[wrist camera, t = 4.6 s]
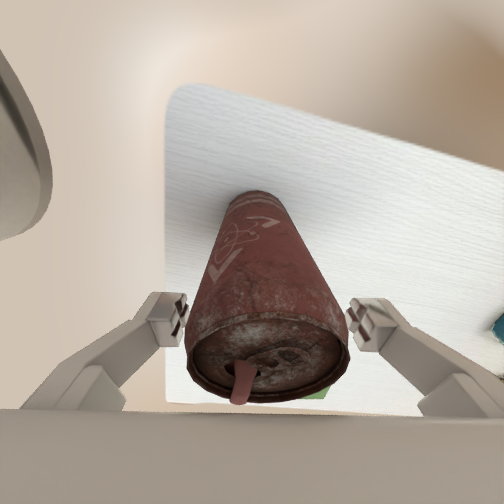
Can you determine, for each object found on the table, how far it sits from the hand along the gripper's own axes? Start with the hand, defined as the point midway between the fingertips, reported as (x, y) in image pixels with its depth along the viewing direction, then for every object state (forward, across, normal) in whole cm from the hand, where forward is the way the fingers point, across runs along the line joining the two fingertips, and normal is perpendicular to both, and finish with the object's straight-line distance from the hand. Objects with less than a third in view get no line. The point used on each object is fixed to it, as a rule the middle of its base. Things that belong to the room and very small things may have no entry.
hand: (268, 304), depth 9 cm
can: (+11, 0, 0) cm, 11 cm away
